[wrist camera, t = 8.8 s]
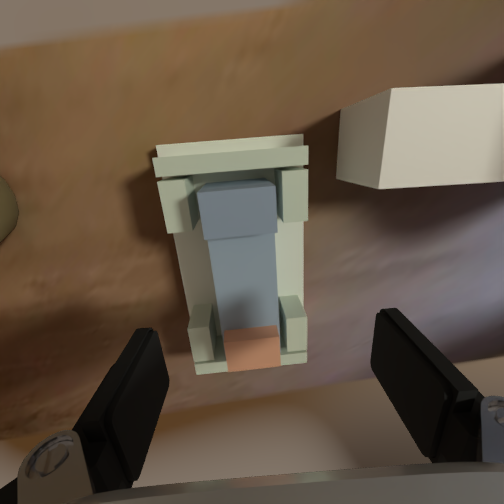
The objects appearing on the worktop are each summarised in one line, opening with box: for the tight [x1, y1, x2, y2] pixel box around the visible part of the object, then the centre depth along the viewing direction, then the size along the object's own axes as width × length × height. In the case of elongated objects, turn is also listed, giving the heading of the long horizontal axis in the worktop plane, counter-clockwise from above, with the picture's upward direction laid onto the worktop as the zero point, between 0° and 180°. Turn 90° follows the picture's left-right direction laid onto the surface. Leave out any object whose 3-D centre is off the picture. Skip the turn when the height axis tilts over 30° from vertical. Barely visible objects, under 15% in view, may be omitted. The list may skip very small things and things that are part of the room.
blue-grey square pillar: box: [197, 178, 281, 372], centre depth 17 cm, size 4×12×5 cm, turn 5°
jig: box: [152, 134, 308, 375], centre depth 18 cm, size 10×17×4 cm, turn 4°
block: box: [336, 83, 504, 189], centre depth 15 cm, size 9×4×6 cm, turn 93°
